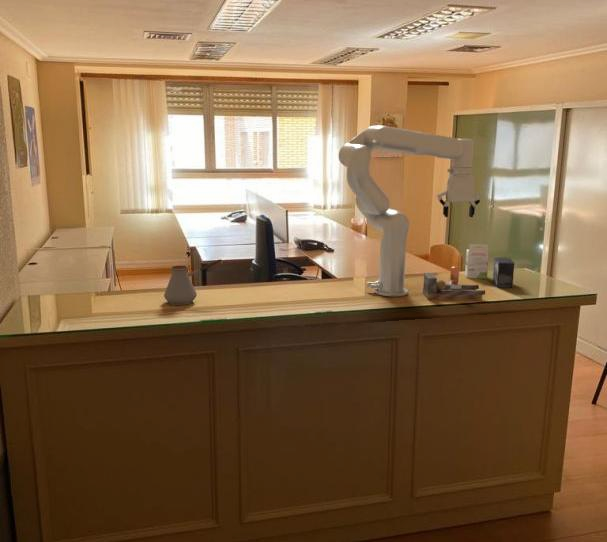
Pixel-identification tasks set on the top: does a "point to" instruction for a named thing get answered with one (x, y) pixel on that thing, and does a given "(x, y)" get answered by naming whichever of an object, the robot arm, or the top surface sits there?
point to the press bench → (450, 291)
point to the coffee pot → (182, 285)
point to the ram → (454, 279)
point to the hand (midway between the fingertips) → (458, 216)
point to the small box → (503, 272)
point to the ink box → (477, 261)
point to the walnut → (440, 285)
